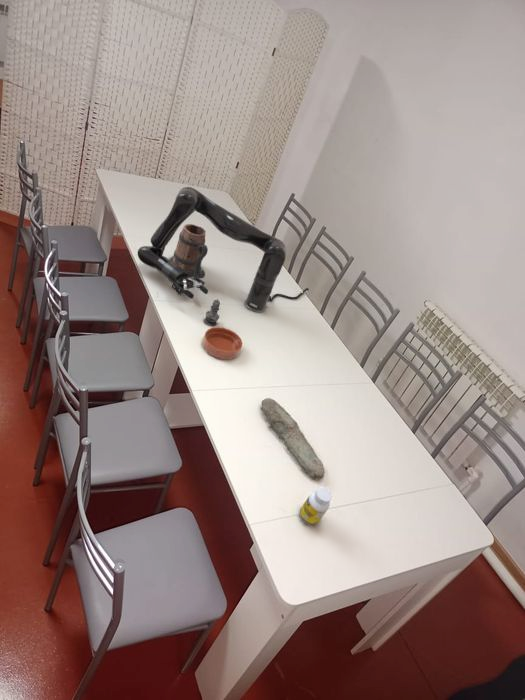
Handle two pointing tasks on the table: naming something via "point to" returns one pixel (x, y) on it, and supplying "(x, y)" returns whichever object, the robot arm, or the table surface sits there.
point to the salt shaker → (212, 314)
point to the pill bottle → (315, 506)
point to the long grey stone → (293, 438)
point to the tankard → (191, 250)
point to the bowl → (222, 343)
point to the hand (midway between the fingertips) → (200, 294)
